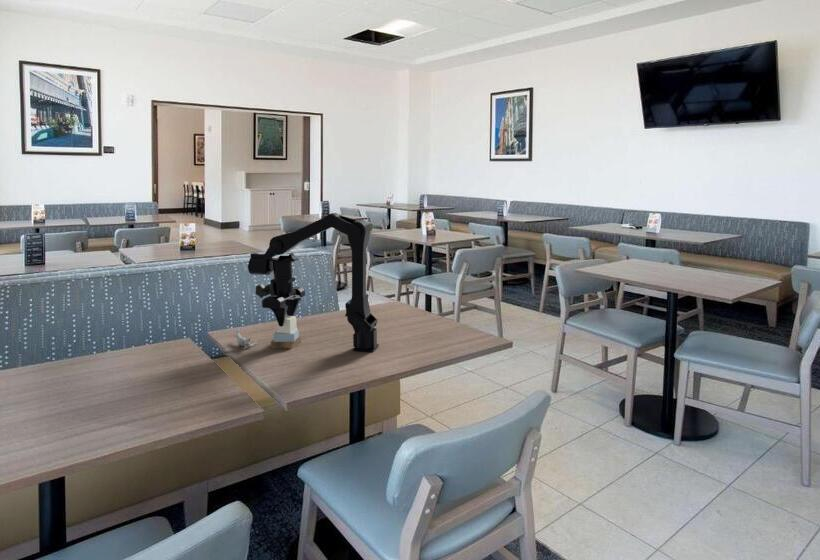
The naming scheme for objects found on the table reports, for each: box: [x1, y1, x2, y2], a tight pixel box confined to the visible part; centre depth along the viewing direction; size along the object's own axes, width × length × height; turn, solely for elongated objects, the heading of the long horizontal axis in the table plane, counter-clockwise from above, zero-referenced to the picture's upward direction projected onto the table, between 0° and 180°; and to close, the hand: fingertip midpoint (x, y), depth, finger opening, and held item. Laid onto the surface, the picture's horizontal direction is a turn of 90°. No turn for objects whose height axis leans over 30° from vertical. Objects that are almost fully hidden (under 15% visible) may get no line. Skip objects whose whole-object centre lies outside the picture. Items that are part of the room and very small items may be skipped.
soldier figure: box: [233, 327, 258, 348], centre depth 184 cm, size 8×5×12 cm
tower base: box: [270, 335, 302, 350], centre depth 185 cm, size 7×7×2 cm
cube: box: [276, 314, 298, 334], centre depth 184 cm, size 4×4×4 cm
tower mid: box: [273, 328, 300, 342], centre depth 185 cm, size 6×6×2 cm
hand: (285, 323), depth 184 cm, fingers open, 6 cm apart
